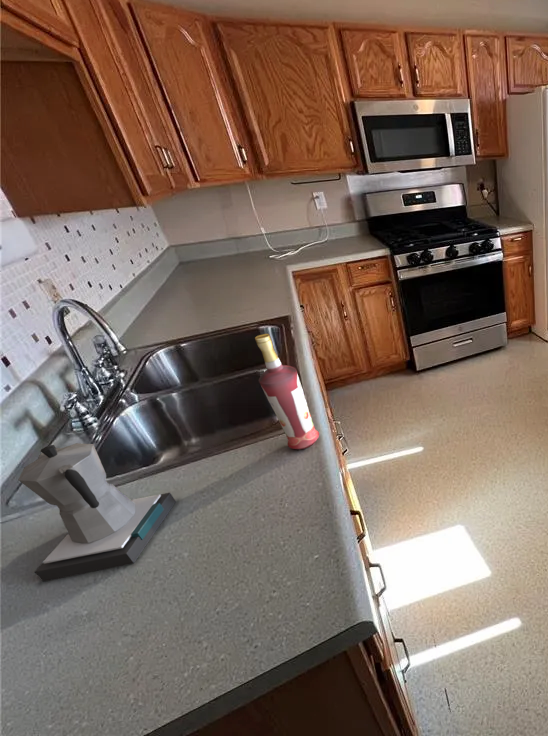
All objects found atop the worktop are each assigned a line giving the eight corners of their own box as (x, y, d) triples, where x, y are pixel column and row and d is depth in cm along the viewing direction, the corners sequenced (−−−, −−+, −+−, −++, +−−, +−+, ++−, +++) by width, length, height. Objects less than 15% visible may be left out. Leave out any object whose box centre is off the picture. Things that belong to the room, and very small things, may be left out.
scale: (43, 581, 70) (30, 569, 68) (99, 515, 82) (90, 503, 80) (135, 563, 72) (125, 550, 70) (177, 501, 84) (169, 489, 82)
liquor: (323, 445, 96) (282, 337, 83) (289, 458, 93) (241, 348, 80) (319, 429, 102) (281, 325, 88) (287, 440, 99) (242, 335, 86)
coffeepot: (60, 528, 76) (-5, 452, 67) (122, 492, 82) (70, 420, 74) (90, 564, 68) (21, 485, 60) (156, 522, 75) (102, 445, 67)
